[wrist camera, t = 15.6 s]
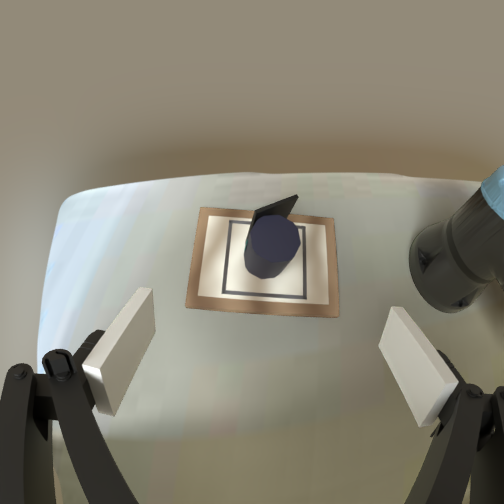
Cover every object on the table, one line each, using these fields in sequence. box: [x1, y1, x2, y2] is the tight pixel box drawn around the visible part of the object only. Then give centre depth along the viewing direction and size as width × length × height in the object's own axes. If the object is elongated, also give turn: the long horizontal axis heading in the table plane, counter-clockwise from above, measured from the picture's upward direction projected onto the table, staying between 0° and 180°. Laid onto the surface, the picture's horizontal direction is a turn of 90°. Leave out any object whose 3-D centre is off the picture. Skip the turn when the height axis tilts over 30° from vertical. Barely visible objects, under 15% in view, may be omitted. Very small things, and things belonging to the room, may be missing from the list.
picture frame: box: [185, 207, 339, 318], centre depth 41 cm, size 20×15×1 cm
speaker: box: [244, 194, 301, 279], centre depth 36 cm, size 8×6×10 cm
